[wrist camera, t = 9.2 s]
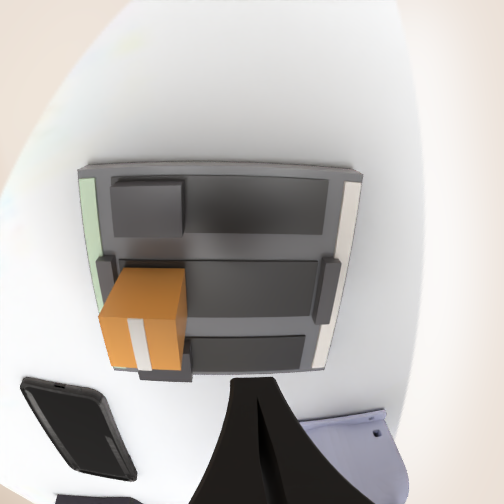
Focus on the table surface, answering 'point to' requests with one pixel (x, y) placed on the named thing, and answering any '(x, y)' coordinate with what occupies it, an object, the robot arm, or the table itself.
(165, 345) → the handle
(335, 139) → the table surface
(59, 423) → the phone
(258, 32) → the table surface
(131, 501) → the red and black box
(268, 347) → the panel
